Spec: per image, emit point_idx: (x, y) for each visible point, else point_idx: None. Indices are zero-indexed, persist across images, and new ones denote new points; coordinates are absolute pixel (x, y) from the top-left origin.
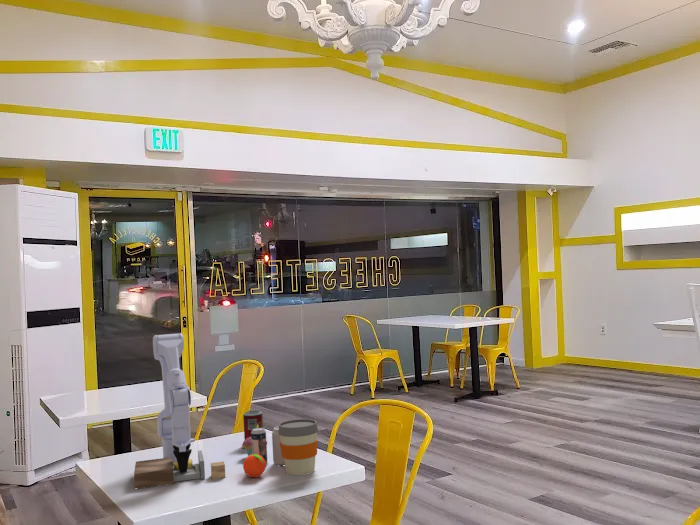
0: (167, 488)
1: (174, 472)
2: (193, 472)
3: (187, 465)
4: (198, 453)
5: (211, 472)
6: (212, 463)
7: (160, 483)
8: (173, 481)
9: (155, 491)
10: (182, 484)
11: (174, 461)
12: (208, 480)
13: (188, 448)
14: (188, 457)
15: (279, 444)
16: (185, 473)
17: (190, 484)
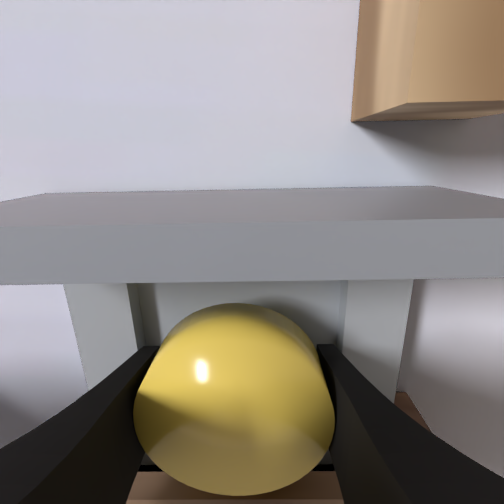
0: (483, 421)
1: None
2: (364, 289)
3: (363, 376)
4: (66, 283)
5: (391, 116)
6: (455, 78)
7: None
8: (412, 404)
9: (496, 473)
10: (457, 343)
11: (197, 488)
12: (483, 156)
13: (40, 498)
14: (450, 452)
15: None
16: (355, 349)
17: (495, 295)
